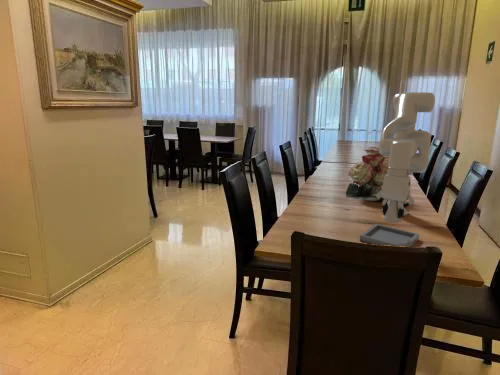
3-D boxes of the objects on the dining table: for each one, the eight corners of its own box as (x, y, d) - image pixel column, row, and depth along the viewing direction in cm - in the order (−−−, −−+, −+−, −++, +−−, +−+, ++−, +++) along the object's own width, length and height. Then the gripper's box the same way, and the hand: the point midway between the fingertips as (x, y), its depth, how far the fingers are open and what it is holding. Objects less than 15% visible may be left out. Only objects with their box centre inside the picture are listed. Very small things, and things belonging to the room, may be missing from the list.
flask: (396, 217, 141) (399, 194, 138) (404, 223, 134) (408, 199, 131) (379, 217, 141) (382, 194, 138) (386, 223, 134) (389, 199, 131)
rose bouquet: (343, 199, 197) (347, 148, 189) (352, 188, 222) (356, 142, 215) (389, 205, 186) (396, 152, 178) (394, 193, 211) (400, 145, 203)
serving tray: (375, 228, 152) (376, 223, 151) (418, 239, 141) (419, 233, 140) (359, 240, 139) (360, 235, 138) (405, 253, 128) (406, 247, 127)
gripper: (423, 174, 130) (417, 218, 134) (379, 168, 140) (374, 209, 145) (418, 177, 124) (412, 223, 129) (372, 170, 135) (368, 213, 139)
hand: (392, 215), depth 137 cm, fingers closed on flask, 5 cm apart
